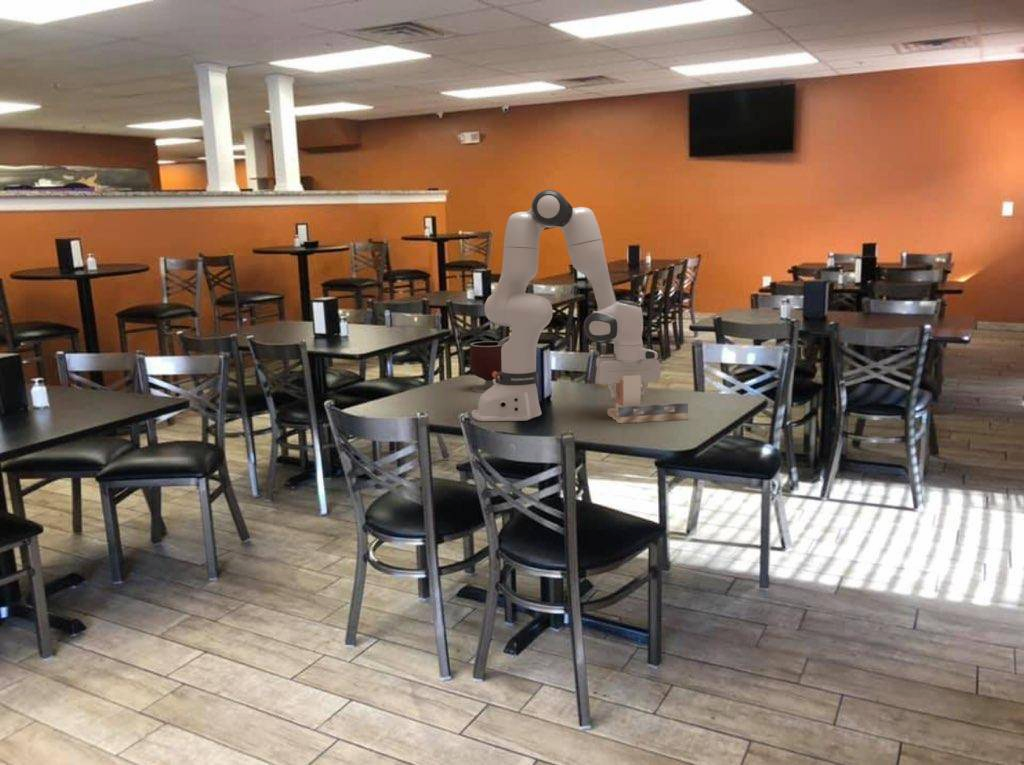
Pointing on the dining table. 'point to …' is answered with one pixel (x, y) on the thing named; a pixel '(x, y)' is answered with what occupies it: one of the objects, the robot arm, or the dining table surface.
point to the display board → (650, 413)
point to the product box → (628, 391)
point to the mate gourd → (486, 361)
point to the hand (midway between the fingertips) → (627, 396)
